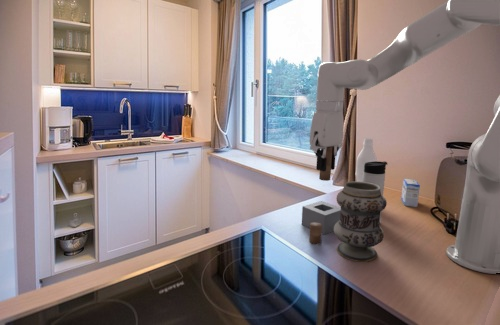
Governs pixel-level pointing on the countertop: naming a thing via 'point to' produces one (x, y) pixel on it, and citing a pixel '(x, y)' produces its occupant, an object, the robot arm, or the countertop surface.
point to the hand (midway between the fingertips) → (325, 169)
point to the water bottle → (364, 158)
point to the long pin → (327, 165)
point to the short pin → (315, 233)
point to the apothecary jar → (359, 220)
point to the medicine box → (410, 192)
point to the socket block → (321, 215)
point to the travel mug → (375, 174)
